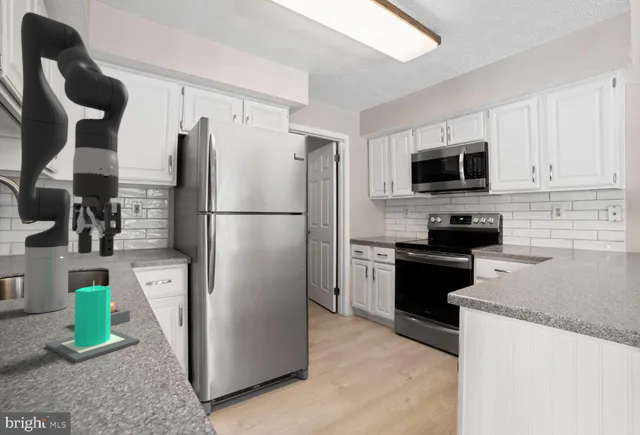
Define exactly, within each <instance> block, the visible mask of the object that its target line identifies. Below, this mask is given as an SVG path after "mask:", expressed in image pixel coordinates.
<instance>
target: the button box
mask: <svg viewBox="0 0 640 435" xmlns="http://www.w3.org/2000/svg"><path fill="white" fill-rule="evenodd" d="M130 320H131V311H130V309H125V308H122V307H119V306H116V305H115V312H114V313H111V326H114V325H118V324H119V325H120V324H122V323H128V322H129V321H130Z"/></svg>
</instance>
